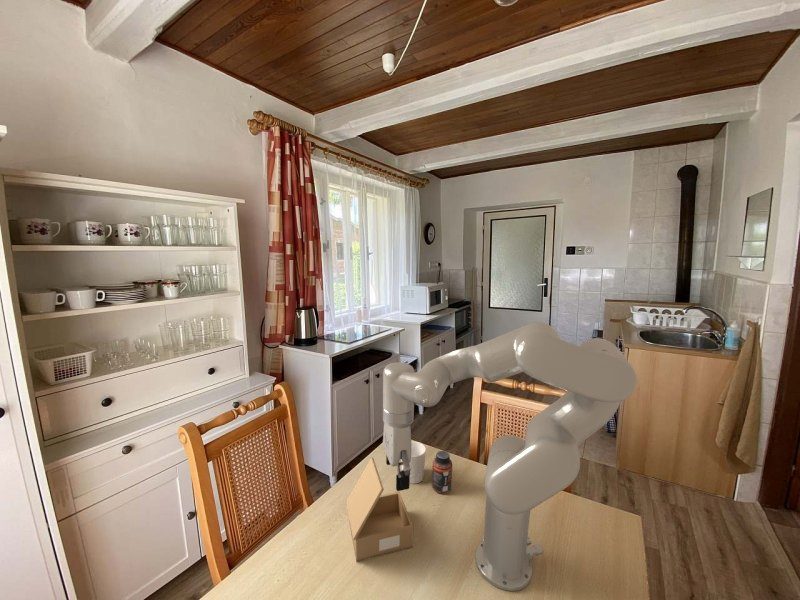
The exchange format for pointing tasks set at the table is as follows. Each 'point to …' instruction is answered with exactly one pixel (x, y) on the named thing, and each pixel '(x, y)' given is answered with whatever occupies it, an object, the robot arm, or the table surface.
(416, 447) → the white cup
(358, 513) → the cardboard box lid
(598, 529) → the table surface
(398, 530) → the carton
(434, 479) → the supplement bottle
